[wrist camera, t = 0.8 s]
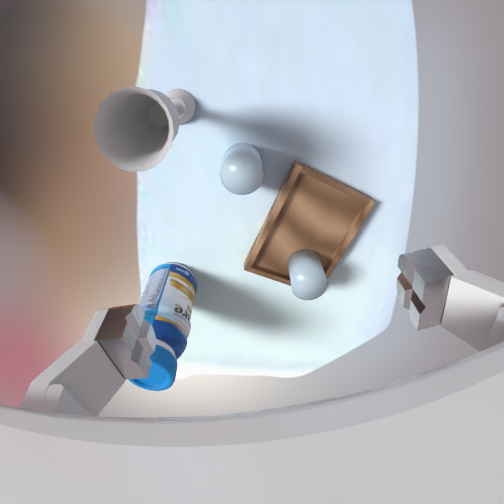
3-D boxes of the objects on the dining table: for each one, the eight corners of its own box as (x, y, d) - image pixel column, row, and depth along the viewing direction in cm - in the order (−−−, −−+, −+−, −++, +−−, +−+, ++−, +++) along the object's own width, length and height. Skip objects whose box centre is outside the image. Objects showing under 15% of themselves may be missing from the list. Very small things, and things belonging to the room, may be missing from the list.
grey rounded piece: (231, 137, 40) (229, 147, 35) (267, 151, 42) (270, 163, 36) (217, 171, 43) (213, 185, 38) (252, 184, 44) (253, 200, 39)
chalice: (212, 117, 39) (190, 146, 24) (169, 141, 40) (123, 186, 25) (186, 71, 35) (144, 69, 20) (142, 98, 37) (79, 117, 22)
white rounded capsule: (296, 244, 48) (302, 266, 43) (325, 255, 49) (334, 277, 44) (281, 270, 51) (285, 294, 46) (309, 280, 52) (316, 304, 47)
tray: (294, 160, 42) (296, 164, 41) (370, 197, 45) (375, 202, 43) (244, 262, 51) (244, 269, 49) (314, 286, 54) (316, 294, 52)
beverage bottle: (148, 257, 50) (109, 350, 33) (199, 262, 51) (180, 360, 33) (151, 297, 54) (121, 389, 37) (197, 302, 55) (182, 399, 38)
